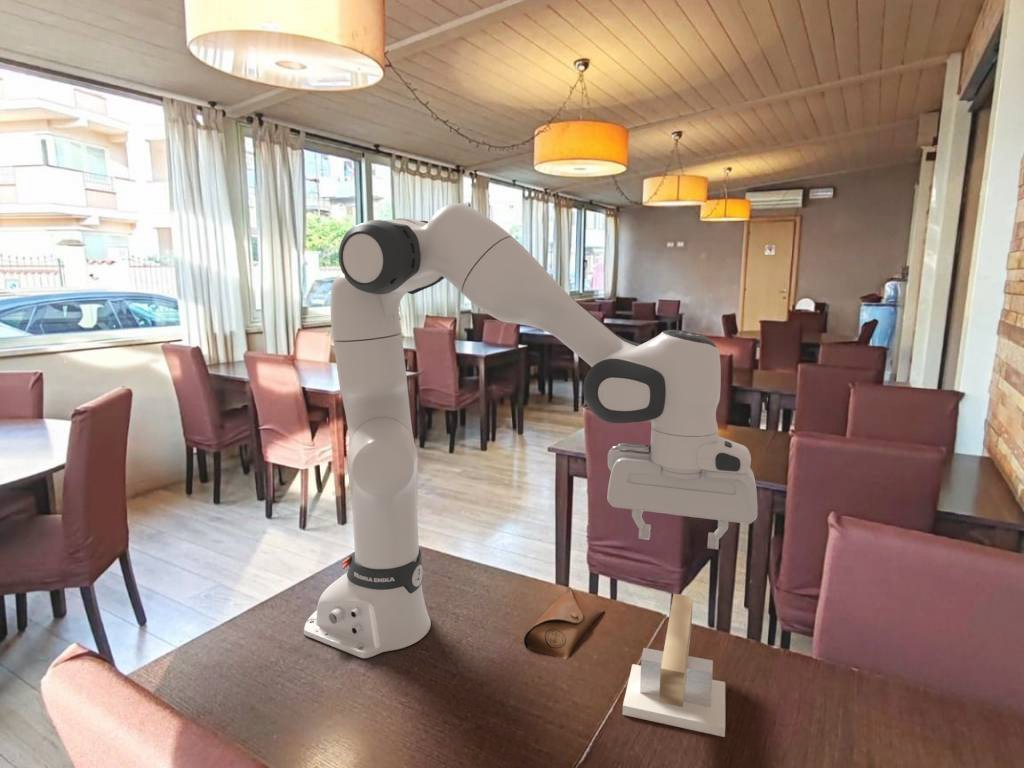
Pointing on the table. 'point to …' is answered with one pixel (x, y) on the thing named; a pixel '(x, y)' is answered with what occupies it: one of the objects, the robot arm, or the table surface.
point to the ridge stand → (699, 700)
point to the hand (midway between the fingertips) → (678, 542)
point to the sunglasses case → (562, 625)
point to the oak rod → (676, 651)
